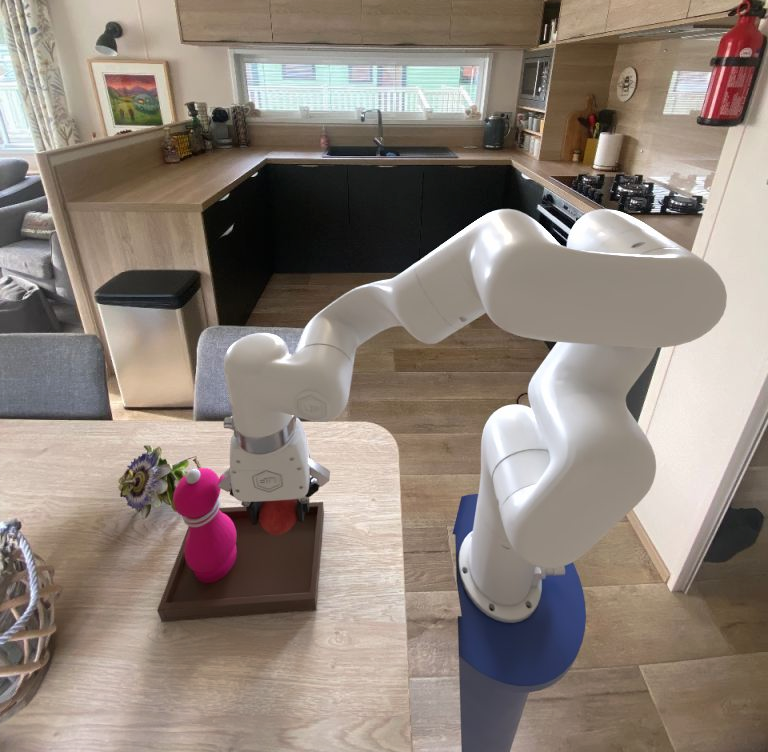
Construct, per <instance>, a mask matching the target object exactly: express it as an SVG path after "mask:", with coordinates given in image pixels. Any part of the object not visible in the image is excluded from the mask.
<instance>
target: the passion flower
mask: <svg viewBox="0 0 768 752" xmlns="http://www.w3.org/2000/svg"><path fill="white" fill-rule="evenodd" d="M143 448H144V449H145V450H146V452H144V453H141V454H140V455H138V457H134V458H133V461H130V465H127V466H126V467H127V468H126V470H125V472H124V473H123V475H122V476H121V477H120V478H119V479H118V483H119V484H118V486H117V488H118V490H119V491H120V494H119V498H125V500H126V502H127V504H126V505H127V506H129V507H130V508H131V510H132V509H134V510H133V514H134V515H136V514H139V513H140V516H141V519H142V520H145V519H147V517H149V515H150V514H151V509H152V507H153V508H155V509H156V510H158V509H159V508H161V505H162V504H163V503H164V504H166V505H169V506H170V507H171V508H172V510H173V511H174V512H176V513H178V512H177V511H176V509H175V506H174V502H173V497H174V491H175V488H176V485H175V484H176V483H175V481H176V482H177V484H178V483H179V481H180V480H181V479H182V478H183V477H184V476H185V475H186V474H187V473H188V472H187V471H186V470H184V469H187V467H188V466H189V464H190V461H189V460H191V459H192V461H193V462H194V464H195V466H196V467H197V469H198V468H202V466H201V464H200V461H199V460H198V456H197V455H194V456H191V457H188V458H185V459H184V460H181V461H179V462H176V463H175V464H171V463H168V461H167V459H166V458H162V448H161V446H157V447H155V448H153V446H152V445H150V444H149V445H147V444H146V445H145V444H144V445H143Z"/></svg>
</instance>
